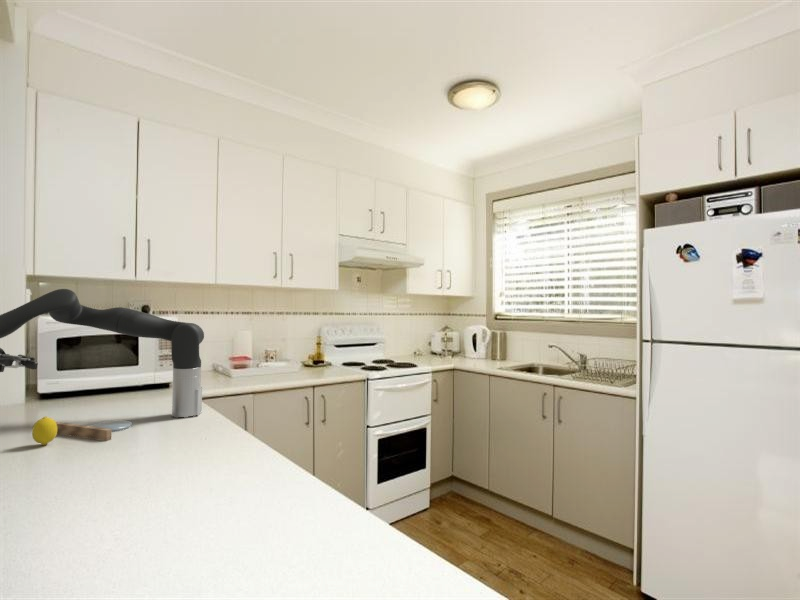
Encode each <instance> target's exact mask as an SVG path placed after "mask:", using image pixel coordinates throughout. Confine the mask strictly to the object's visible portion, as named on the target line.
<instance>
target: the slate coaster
mask: <svg viewBox="0 0 800 600" xmlns="http://www.w3.org/2000/svg"><path fill="white" fill-rule="evenodd" d="M89 426H91V427H98V428H106V429H112V433H113V432H114V433H115V432H120V431H124V430H126V428H127V429H129V427H130V426H131V427H132V422H131V421H129V420H110V421H108V420H107V421H103V422H97V423H94V424H91V425H89ZM131 427H130V428H131ZM123 429H124V430H123Z"/></svg>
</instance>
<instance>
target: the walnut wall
mask: <svg viewBox="0 0 800 600" xmlns="http://www.w3.org/2000/svg"><path fill="white" fill-rule="evenodd" d="M55 422H56V424H57V435H62V434H64V436H69V435H71V436H70V437H76V438H85V439H90V440H91V439H92V440H97V441H104V442H105V441H106V442H107V441H111V440H112V433H113V432H112V429H106V428H98V427H91V426H90V425H89V426H88V425H82V424H74V423H66V422H60V421H55Z"/></svg>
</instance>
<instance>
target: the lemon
mask: <svg viewBox="0 0 800 600" xmlns="http://www.w3.org/2000/svg"><path fill="white" fill-rule="evenodd" d="M56 422H57V421H55V419H53V418H50V417H48V416H44V417H43V418H41V419H38V420H37V421H36V422H35V423H34V425H33V428H32V433H31V434H32V435H31V436H32V439H33V440H34V442H36V443H37V444H41V445H42V446H46V445H48V443H50V442H52V441H53V440H54V439H55V438H56V436H57V435H58V434H57V424H56Z"/></svg>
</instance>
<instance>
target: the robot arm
mask: <svg viewBox="0 0 800 600" xmlns="http://www.w3.org/2000/svg"><path fill="white" fill-rule="evenodd" d="M47 313H48V315H49V316H50V317H51V318H52V319H53V320H54V321H55V322H58V323H62V324H68V325H74V326H75V325H76V326H82V327H83V326H85V327H91V328H94V329H95V328H96V329H99V330H104V331H109V332H114V333H117V334H120V335H126V336H130V337H135V338H136V337H138V338H145V339H146V338H147V339H161V340H165V341H168V342H171V345H170V346H171V361H172V396H171V397H172V399H171V400H172V401H171V402H172V403H171V404H172V405H171V417H173V416H174V417H173V418H178V417H184V418H189V417H188V416H193V415H198V414H199V413H200V412H201V411H202V410H203V407H202V406H203V405H202V404H203V387H202V386H201V385H202V384H201V383H202V359H201V357H200V344H201V343H203V340H204V339H205V331H204V330H203V328H202V327H201V326H200V325H198V324H196V323H191V322H183V321H176V320H169V319H166V318H163V317H161V316H160V317H159V316H157V315H154V314H150V313H147V312H143V311H139V310H137V309H131V308H127V307H122V306H119V307H111V308H106V309H105V308H104V309H99V308H94V307H90V306H86V305H83V304H81V302H80V301H79V298H78V296H77V294H76V292H75V291H73V290H72V289H68V288H58V289H55V290H52V291H50V292H48V293H45V294H43V295H41V296H39V297H37V298H34V299H33V300H31V301H29V302H26V303H24V304H22V305H20V306H18V307H16V308H13V309H11V310H9V311H7V312H4V313H1V314H0V339H3V338H5V337H8V336H10V335H11V334H13V333H15V331H18V330H19V329H20V328H22V327H23V326H24V325H25V324H26V323H28V322H29V321H31V320H33V319H35V318H37V317H39V316H41V315H44V314H47ZM14 362H15V363H14ZM38 363H39V362H37V361H36V358H35V357H32V356H27V355H25V354H24V355H23V354H18V355H14V354H13V355H12V354H9V353H6V352H5V350H4V349H3V348H2V347H0V373H4V372H5V368H10V369H18V368H26V369H29V370H37V369H38ZM13 364H14V365H13ZM202 412H203V411H202ZM202 412H201V413H202ZM201 413H200V414H201ZM200 414H199V415H200ZM199 415H198V416H199ZM193 417H194V416H193Z"/></svg>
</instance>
